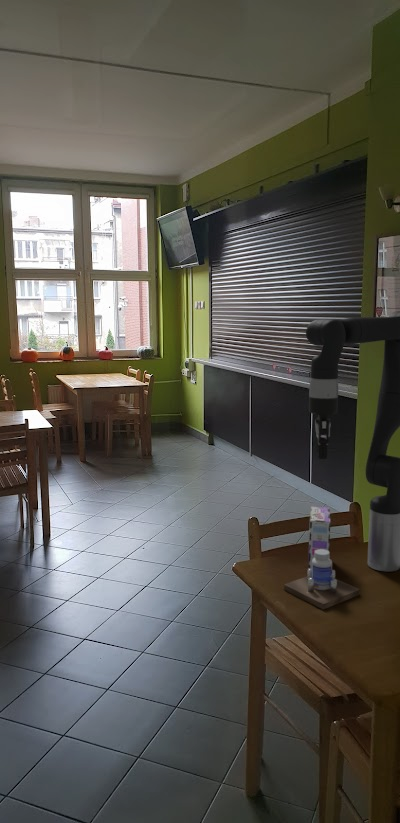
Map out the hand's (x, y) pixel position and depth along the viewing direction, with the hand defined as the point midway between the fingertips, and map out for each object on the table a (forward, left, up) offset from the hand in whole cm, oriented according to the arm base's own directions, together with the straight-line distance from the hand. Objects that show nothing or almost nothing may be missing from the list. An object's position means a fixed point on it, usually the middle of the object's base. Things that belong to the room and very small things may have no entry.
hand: (321, 455), depth 161 cm
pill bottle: (+4, +5, -35) cm, 35 cm away
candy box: (-8, -7, -36) cm, 38 cm away
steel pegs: (+4, +5, -35) cm, 35 cm away
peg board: (+4, +5, -36) cm, 37 cm away
